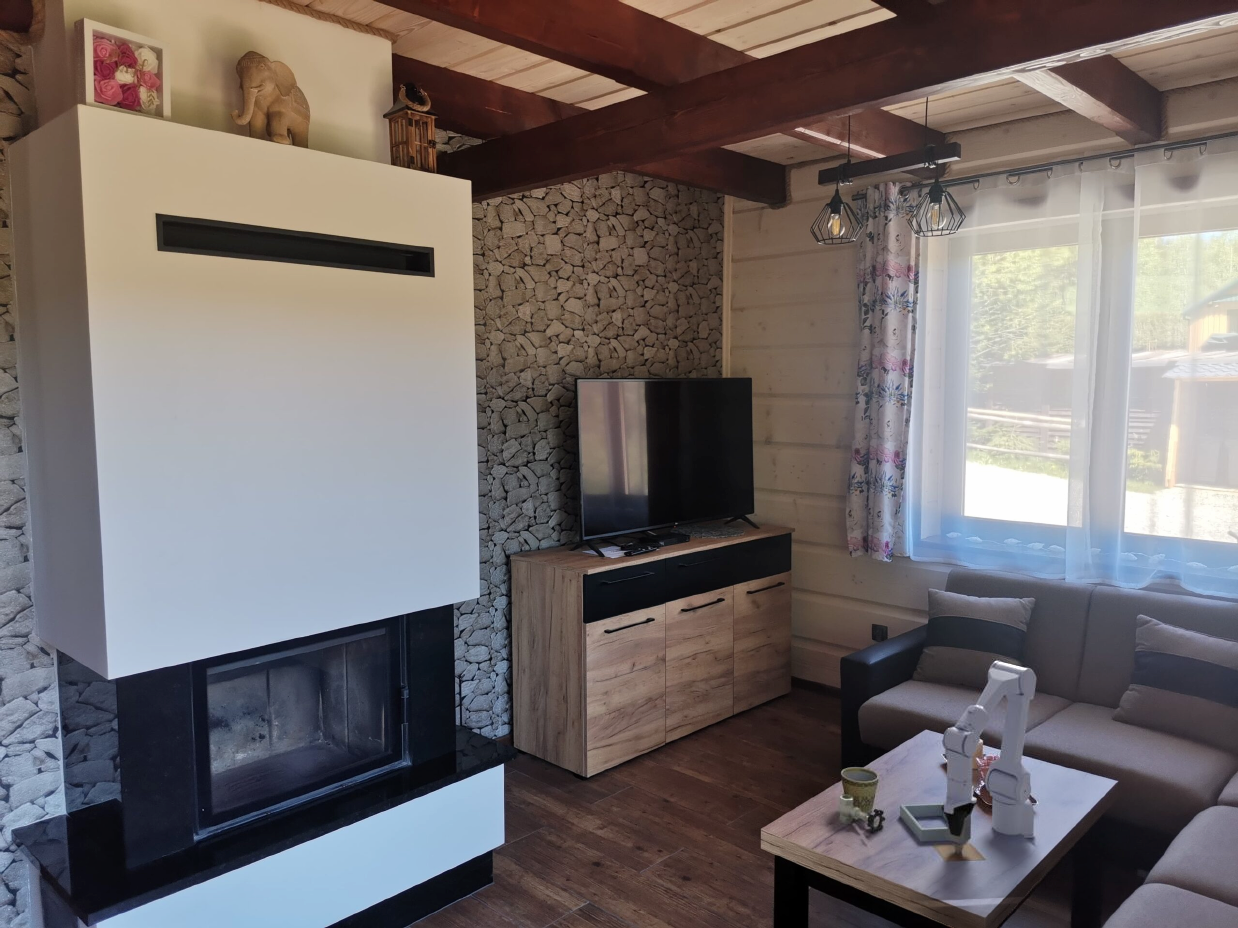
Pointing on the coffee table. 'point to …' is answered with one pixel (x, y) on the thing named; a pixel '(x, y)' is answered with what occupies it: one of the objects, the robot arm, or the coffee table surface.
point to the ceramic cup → (860, 786)
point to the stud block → (958, 852)
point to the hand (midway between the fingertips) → (958, 831)
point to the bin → (918, 811)
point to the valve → (858, 814)
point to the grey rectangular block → (962, 831)
